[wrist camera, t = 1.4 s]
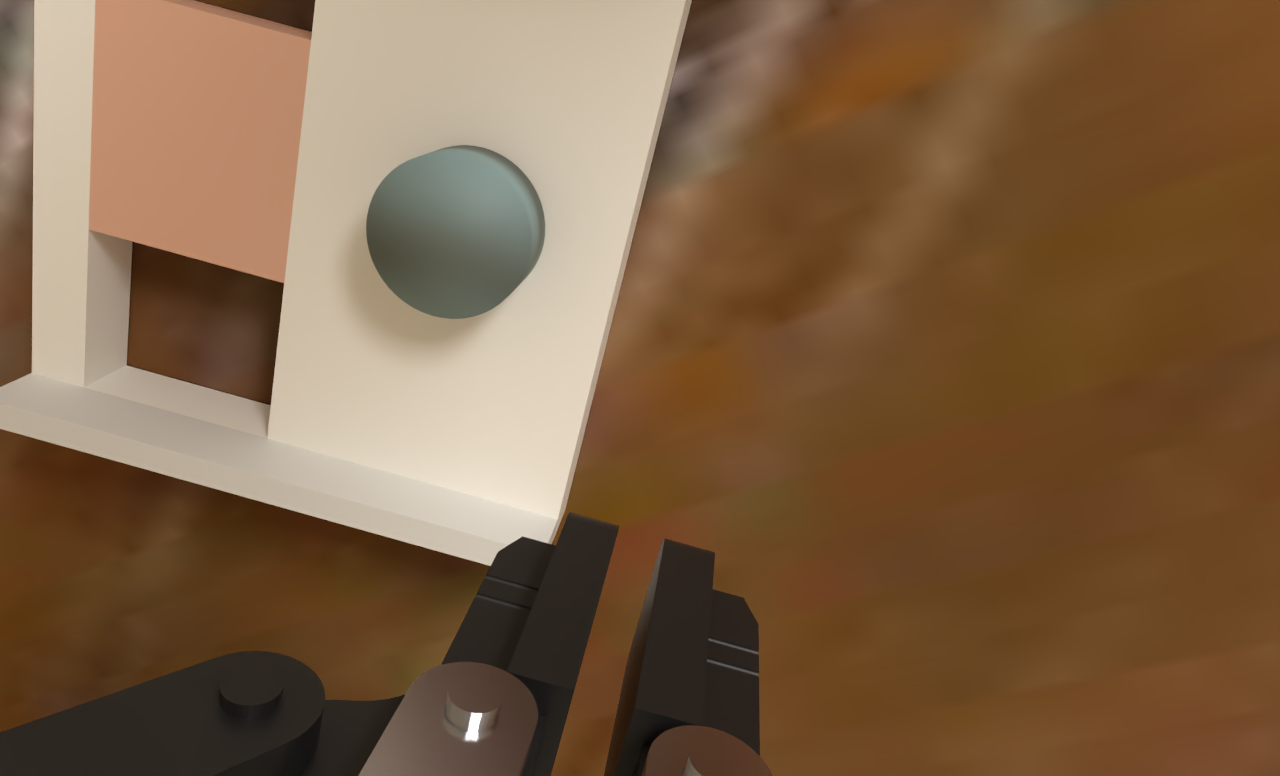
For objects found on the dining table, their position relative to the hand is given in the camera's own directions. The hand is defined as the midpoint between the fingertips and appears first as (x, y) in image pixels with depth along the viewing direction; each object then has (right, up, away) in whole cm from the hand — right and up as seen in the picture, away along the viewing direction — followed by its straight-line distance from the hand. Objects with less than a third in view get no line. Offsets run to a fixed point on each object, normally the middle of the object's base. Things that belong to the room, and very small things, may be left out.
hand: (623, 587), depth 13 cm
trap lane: (-10, +10, +20) cm, 24 cm away
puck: (-5, +8, +18) cm, 20 cm away
